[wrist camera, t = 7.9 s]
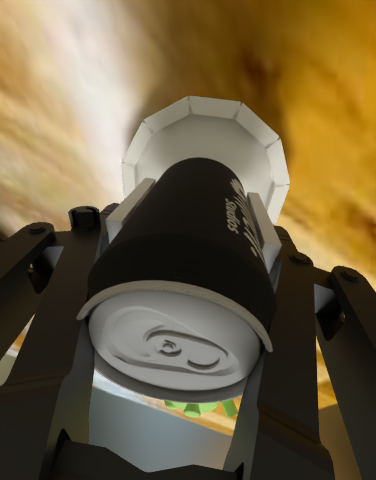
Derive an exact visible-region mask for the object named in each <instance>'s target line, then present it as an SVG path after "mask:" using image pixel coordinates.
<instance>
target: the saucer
mask: <svg viewBox="0 0 376 480" xmlns="http://www.w3.org/2000/svg"><path fill="white" fill-rule="evenodd" d="M195 157H202V158H209V159H213V160H216V161H218V162H220V163H222V164H224V165H226V166H227V167H228V168H230V169H231V170H232V171H233V172H234V173H235V174H236V176H237V177H238V178H239V180H240V182H241V184H242V186H243V189H244V192H245V196H246V197H247V193H248V192H253V193H259V195H260V197H261V200H262V202H263V204H264V206H265V209H266V211H267V213H268V215H269V218H270V220H271V222H272V224H273V225H274V224H276V222H277V219H278V216H279V214H280V211H281V208H282V206H283V203H284V200H285V198H286V195H287V192H288V189H289V187H290V185H289V184H290V180H289V176H288V171H287V166H286V161H285V157H284V152H283V147H282V142H281V139H280V138H279V136H278V135H277V134H276V133H275V132H274V131H273V130H272V129H271V128H270V127H269V126H268V125H266V124H265V123H264V122H263V121H262V120H261V119H260V118H259V117H258V116H257V115H256V114H255V113H254V112H253V111H251V110H250V109H249V108H248V107H247V106H246V105H245V104H244V103H241V105H240V101H232V100H224V99H215V98H207V97H199V96H189V97H188V96H186V97H184V98H182V99H180V100H179V101H177V102H175V103H173V104H171V105H169V106H168V107H166V108H164V109H162V110H160V111H158V112H157V113H155V114H153V115H151V116H149V117H148V118H146V119H144V121H142V123H141V125H140V126H139V128H138V130H137V132H136V134H135V136H134V138H133V140H132V142H131V144H130V146H129V148H128V150H127V152H126V154H125V155H124V157H123V159H122V161H123V162H122V178H123V193H124V199H125V198H126V197H127V196H128V195H129V194H130V193H131V192H132V191H133V190H134V189H135V188H136V187H137V186H138V185H139V184H140V183H141V182H142V181H143V180H144V179H145V178H152V179H156V182H157V181H158V180H159V178H160V177H161V176H162V174H163V173H164V172H165V171H166V170H167V169H168V168H169V167H171V166H172V165H174V164H175V163H177V162H179V161H182V160H184V159H188V158H195Z"/></svg>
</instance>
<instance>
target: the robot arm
mask: <svg viewBox="0 0 376 480" xmlns="http://www.w3.org/2000/svg"><path fill="white" fill-rule="evenodd" d="M155 184H156V179H152V178H145V179H144V180H143V181H142V182H141V183H140V184H139V185H138V186H137V187H136V188H135V189H134V190H133V191H132V192H131V193H130V194H129V195H128V196H127V197H126V198H125V199H124V200H123V202H122V203H121V204H117V203H113V204H111V205H108V206H107V207H106V208H104V209H103V211H101V212H100V213H99V209H97V208H96V207H92V206H80V207H76V208H73V209H71V210H70V211H69V212H68V214H69V218H70V222H71V227H72V229H71V231H61V232H55V230H54V227H53V225H52V224H50V223H46V222H37V223H32V224H30V225H27V226H25V227H23V228H22V229H20V230H19V231H18V232H16V233H15V234H14V235H12V236H11V237H10V238H8V239H7V240H6V241H4V242H2V241H0V360H1V358H2V357H3V356H4V355H5V353H6V352H7V351H8V349H9V348H10V347H11V345H12V344H13V342H14V341H15V340H16V338H17V337H18V336H19V334H20V333H21V332H22V330H23V329H24V328H25V326H26V325H27V323H28V322H29V321H30V319H31V318H32V317H33V315H34V314H35V316H34V318H33V320H32V323H31V325H30V327H29V330H28V332H27V334H26V337H25V339H24V341H23V344H22V346H21V348H20V351H19V353H18V356H17V358H16V360H15V363H14V365H13V367H12V370H11V372H10V374H9V376H8V378H7V380H6V382H5V383H4V384H3V385H2V386H0V480H335V474H334V468H333V461H332V459H331V456H330V453H329V451H328V450H327V449H326V448H325V447H324V446H323V445H322V444H321V441H320V437H319V421H318V419H319V418H318V388H317V358H316V336H317V340H318V343H319V346H320V349H321V352H322V355H323V358H324V361H325V365H326V368H327V371H328V374H329V377H330V380H331V383H332V386H333V390H334V393H335V396H336V399H337V402H338V405H339V408H340V411H341V415H342V418H343V421H344V424H345V427H346V430H347V433H348V436H349V440H350V443H351V446H352V449H353V452H354V455H355V458H356V462H357V465H358V467H359V471H360V474H361V477H362V480H376V292H375V291H374V289H373V288H372V286H371V285H370V284H369V282H368V281H367V279H366V278H365V277H364V276H363V275H361V274H360V273H359V272H357V271H356V270H353V269H352V268H348V267H344V266H336V267H334V268H333V270H332V271H331V273H330V272H327V271H325V270H322V269H319V268H316V267H313V262H312V260H311V259H310V258H309V257H308V256H306V255H305V254H303V253H300V252H298V251H297V249H296V247H295V245H294V243H293V241H292V239H291V238H290V236H289V234H288V232H287V231H286V230H285V229H284V228H283V227H281V226H274V225H273V224H272V222H271V220H270V218H269V215H268V213H267V211H266V209H265V206H264V204H263V202H262V200H261V197H260V195H259V193H253V192H248V193H247V197H246V199H247V202H248V206H249V209H250V212H251V216H252V219H253V223H254V226H255V229H256V233H257V236H258V239H259V243H260V246H261V249H262V253H263V256H264V259H265V263H266V266H267V269H268V273H269V276H270V279H271V283H272V286H273V290H274V293H275V296H276V300H277V311H276V312H275V314H274V316H273V318H272V320H271V323H270V327H269V331H268V336H269V339H270V341H271V344H272V348H273V351H272V352H268V351H267V350H266V348H265V345H262V347H261V349H260V357H259V359H258V360H257V362H256V364H255V366H254V368H253V370H252V372H251V373H250V374H249V376H248V379H247V382H246V385H245V388H244V391H243V395H242V399H241V404H240V408H239V412H238V416H237V421H236V425H235V429H234V434H233V438H232V442H231V445H230V448H229V451H228V453H227V456H226V459H225V463H224V466H223V470H219V469H214V468H209V467H204V466H199V465H188V466H183V467H178V468H173V469H166V470H161V471H156V472H149V473H148V472H144V471H142V470H140V469H139V468H137V467H135V466H134V465H132V464H131V463H129V462H127V461H126V460H124V459H123V458H121V457H120V456H118V455H117V454H115V453H114V452H112V451H110V450H109V449H107V448H105V447H100V446H95V445H89V444H88V441H89V422H88V418H89V406H90V398H91V391H92V383H93V375H94V367H95V348H94V346H93V344H92V341H91V337H90V333H89V328H88V324H89V320H90V318H89V316H85V317H84V318H83V319H81V320H77V319H76V318H77V316H78V314H79V312H80V310H81V309H82V308H83V306H84V305H85V304H86V303H87V301H88V283H87V280H88V275H89V273H90V271H91V269H92V267H93V265H94V264H95V262H96V261H97V260H98V258H99V257H100V256H101V254H102V253H103V252H104V251H105V249H106V248H107V247H108V245H109V244H110V243H111V241H112V240H113V239H114V237H115V236H116V235H117V233H118V232H119V231H120V230H121V228H122V227H123V226H124V224H125V223H126V222H127V220H128V219H129V218H130V216H131V215H132V214H133V212H134V211H135V210H136V209H137V207H138V206H139V205H140V203H141V202H142V201H143V199H144V198H145V197H146V195H147V194H148V193H149V191H150V190H151V189H152V188H153V186H154V185H155ZM30 264H32V266H33V268H32V269H31V270H30V268H29V266H30ZM344 315H345V318H344Z"/></svg>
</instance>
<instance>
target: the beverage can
mask: <svg viewBox="0 0 376 480" xmlns="http://www.w3.org/2000/svg"><path fill="white" fill-rule="evenodd" d="M87 283H88V301H87V303H86V304H85V305H84V306H83V308H82V309H81V310H80V312H79V314H78V316H77V318H76V319H77V320H81V319H83V318H84V317H85V316H89V318H90V320H89V324H88V328H89V333H90V337H91V341H92V344H93V346H94V348H95V367H94V369H95V370H96V371H97V372H98V373H99V374H101V375H102V376H104V377H105V378H107V379H108V380H110V381H111V382H113V383H115V384H117V385H119V386H121V387H123V388H126V389H128V390H131V391H133V392H135V393H138V394H141V395H144V396H147V397H151V398H155V399H160V400H164V401H170V402H177V403H188V404H201V403H216V402H222V401H228V400H231V399H235V398H238V397H240V396H242V395H243V391H244V388H245V385H246V382H247V379H248V376H249V374H250V373H251V372H252V370H253V368H254V366H255V364H256V362H257V360H258V359H259V357H260V349H261V347H262V345H265V348H266V350H267V351H268V352H272V351H273V348H272V344H271V341H270V339H269V336H268V331H269V327H270V323H271V320H272V318H273V316H274V314H275V312H276V311H277V300H276V296H275V293H274V290H273V286H272V283H271V279H270V276H269V273H268V269H267V266H266V263H265V259H264V256H263V253H262V249H261V246H260V243H259V239H258V236H257V233H256V229H255V226H254V223H253V219H252V216H251V212H250V209H249V206H248V202H247V199H246V196H245V192H244V189H243V186H242V184H241V182H240V180H239V178H238V177H237V176H236V174H235V173H234V172H233V171H232V170H231V169H230V168H228V167H227V166H226V165H224V164H222V163H220V162H218V161H216V160H213V159H209V158H202V157H195V158H188V159H184V160H182V161H179V162H177V163H175V164H174V165H172V166H171V167H169V168H168V169H167V170H166V171H165V172H164V173H163V174H162V176H161V177H160V178H159V180H158V181H157V182H156V184H155V185H154V186H153V188H152V189H151V190H150V191H149V193H148V194H147V195H146V197H145V198H144V199H143V201H142V202H141V203H140V205H139V206H138V207H137V209H136V210H135V211H134V212H133V214H132V215H131V216H130V218H129V219H128V220H127V222H126V223H125V224H124V226H123V227H122V228H121V230H120V231H119V232H118V233H117V235H116V236H115V237H114V239H113V240H112V241H111V243H110V244H109V245H108V247H107V248H106V249H105V251H104V252H103V253H102V254H101V256H100V257H99V258H98V260H97V261H96V262H95V264H94V265H93V267H92V269H91V271H90V273H89V275H88V280H87Z"/></svg>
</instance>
